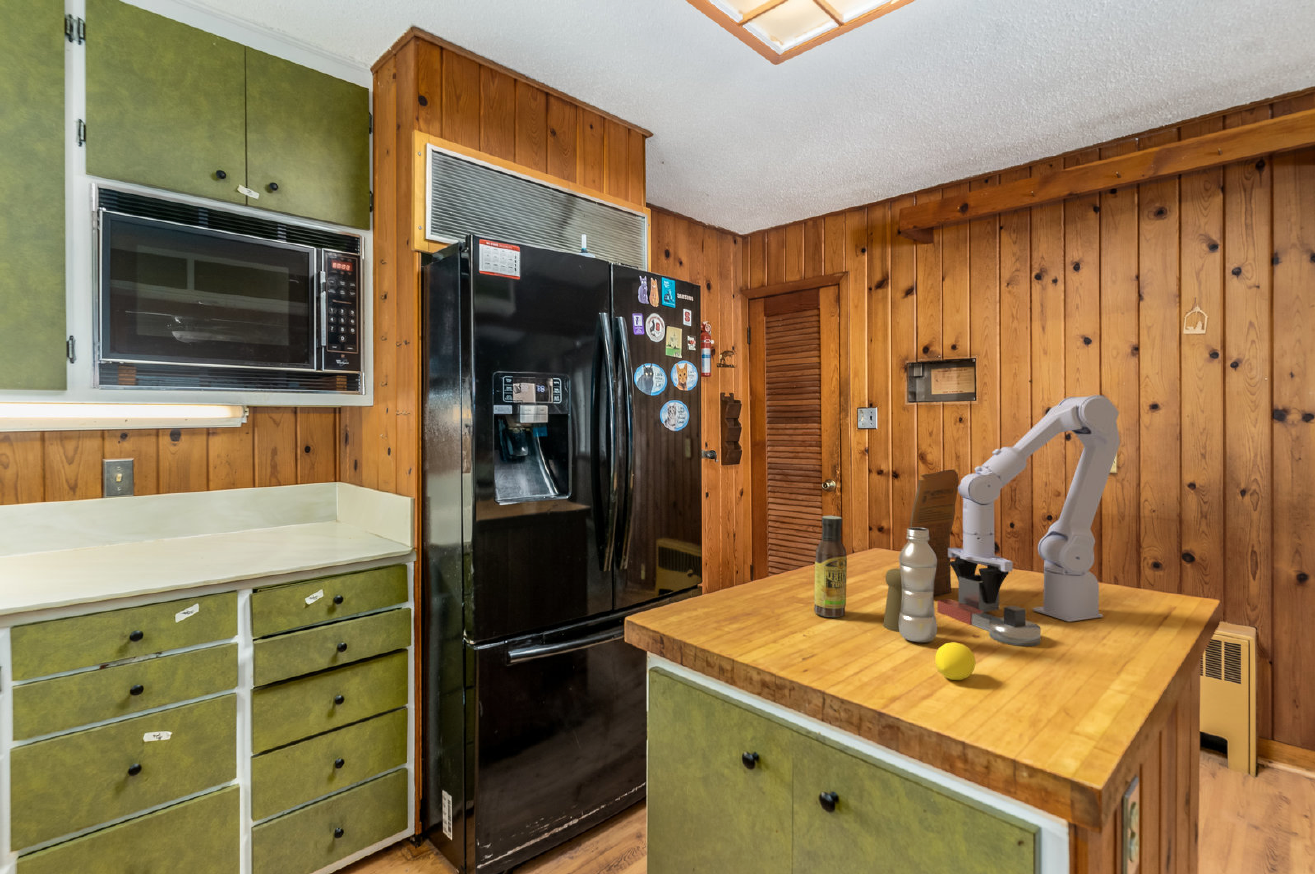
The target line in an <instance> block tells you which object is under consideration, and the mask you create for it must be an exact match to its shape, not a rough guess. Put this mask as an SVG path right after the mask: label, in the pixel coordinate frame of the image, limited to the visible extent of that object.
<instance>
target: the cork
mask: <svg viewBox="0 0 1315 874" xmlns="http://www.w3.org/2000/svg"><path fill="white" fill-rule="evenodd" d="M885 583H886V584H887V586H888V589H887V597H886V603H885V609H884V616H883V624H882V626H883V628H885V629H886V628H887V630H888V631H893V632H897V633H900V632H899V626H898V622H899V615H900V612H901V601H902V582H901V572H900V568H892V569H891V568H890V569H888V570H887V571H886V573H885Z"/></svg>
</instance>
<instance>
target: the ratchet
mask: <svg viewBox="0 0 1315 874" xmlns="http://www.w3.org/2000/svg"><path fill="white" fill-rule="evenodd" d="M1026 611H1027V609H1026V608H1022V607H1020V606H1017V605H1008V606H1003V617H998V616H995V615H993V614H989V613H987V612H983V611H982V610H979V609H976V608H974V607H971V606H968V605H965V604H962V603H959V601H957V600H953V599H951V598H946V599H938V600H937V613H939V614H941V615H944V614H946V615H945V616H947V615H948V616H947V617H949V616H950V618H952V619H955V620H957V619H958V620H957V621H960V622H962V623H965V624H967V623H968V624H967V625H971V626H974V627H977V628H979V629H981V628H982V630H985V631H986V630H987V632H988V633H989V634H988V635H989V637H990V638H991V639H992V638H993V639H992V640H994V641H996V640H997V642H999V643H1001V642H1003V643H1002V644H1005V643H1007V644H1006V645H1009V644H1011V646H1015V645H1016V646H1018V647H1036V646H1039V645H1040V644H1041V638H1042V636H1041V634H1042V632H1041V631H1042V630H1041V626H1040V625H1039V624H1037V623H1034V622H1032V621H1029V620H1026Z"/></svg>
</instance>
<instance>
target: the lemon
mask: <svg viewBox="0 0 1315 874" xmlns="http://www.w3.org/2000/svg"><path fill="white" fill-rule="evenodd" d="M934 656H935V660H934V661H935V663H934V664H935V666H936V669H937V671H938V672H939V673H940V674H942V675H943V677H944V678H945V679H948V680H951V681H962V680H964V679H966V678H967V679H968V677H970V675H971V674H972V673H973V672H974V671H975V666H976V663H977V661H976V657H975V655H974V653H973V651H972V650H971V648H969V647H968V646H966V645H964V644H963V643H958V642H955V641H951V642H946V643H944V644H942V645H941V646H939V647H938V649H937V650H936V653H935V655H934Z"/></svg>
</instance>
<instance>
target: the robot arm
mask: <svg viewBox="0 0 1315 874" xmlns="http://www.w3.org/2000/svg"><path fill="white" fill-rule="evenodd" d="M1119 415H1120V411H1119V410H1118V409H1117V408H1116V406H1115V404H1113V402H1112V401H1111V399H1109V398H1108V397H1106V396H1104V395H1101V394H1094V395H1090V396H1069V397H1065V398H1064V399H1062V400H1061V401H1060V402H1059V403H1058V404H1057V405H1054V406H1053V407H1051V408H1050V409H1049V411H1048V412H1047V413H1046V414H1045V415H1044V416H1043V417H1042V418H1041V419H1040V420H1039V421H1038V422H1037V423H1036V424H1035V425H1034V426H1032V428H1030V430H1028V432H1027V433H1026V434H1025V435H1024V436H1022V437H1021V438H1020V439H1019V440H1018V441H1017V442H1016V444H1014V445H1013V446H1003V447H1001V448H1000V449H999V448H995V449H994V450H993V451H992V452H991V454H992V456H991V457H990V458H989V459H987V460H986V461H985V462H984V463H983V464H982V465H981V466H979V465H978V466H976V467H975V468H974V471H975V473H974V472H973V473H972V472H971V473H969V474H967V475H965V476H964V477H963V478H962V479H961V481H960V484H959V485H958V493H959V495H960V496H961V498H962V548H959V547H955V546H953V547H950V548H948V557H950V559H951V558H953V559H954V558H955V559H954V560H950V567H951V568H952V570H953V571H954V573H955V575H956V578H957V580H958V582H959V576H967V575H976V571H977V568H978V565H981V566H985V567H982V568H978V572H979V574H980V575H981V578H982V582H983V588H984V600H985V603H987V604H991V603H996V599H997V595H998V592H999V593H1000V588H1001V586H1002V584H1003V582H1004V581H1005V579H1006V577H1007V576H1008V575H1009V572H1013V571H1014V570H1013V569H1014V568H1013V567H1014V565H1013V563H1014V562H1013V561H1012V560H1008V559H1006V558H1003V557H1001V556H999V555H996V554H995V501H996V500H998V498H999V497H1000V495H1001V489H1003V488H1004V487H1005V486H1006V485H1007V484H1008V483H1010V482H1011V481H1012V480H1013V479H1014V478H1015V477H1017V476H1018V475H1019V474H1020V473H1021V472H1023V471H1024V470H1025V469H1026V467H1027V461H1028V460H1027V459H1028V458H1029V457H1030V456H1032V455H1033V454H1035V452H1037V451H1038V450H1039V449H1041V448H1042V447H1043V446H1044V445H1046V444H1047V443H1049V442H1050V441H1051V440H1053V438H1055V437H1056V436H1057V435H1059V434H1061V433H1065V432H1070V431H1071V433H1073V434H1074V435H1076V437H1077V439H1078V440H1079V441H1080V443H1081V444H1082V445H1083V450H1082V452H1081V455H1080V458H1079V460H1078V463H1077V467H1076V469H1075V472H1074V476H1073V478H1072V480H1071V483H1070V486H1069V489H1068V492H1067V496H1066V498H1065V500H1064V503H1063V507H1062V509H1061V511H1060V512H1061V513H1060V516H1059V519H1057V520H1056V521H1055V522H1053V523H1052V524H1051V525H1050V526H1049V528H1048V530H1047V533H1046V534H1044V535H1043V537H1042V538H1040V540H1039V542H1038V544H1037V551H1038V552H1037V553H1038V555H1039V557H1040V558H1041V559H1042V560H1043V561H1044V562H1043V563H1044V564H1043V606H1038V607H1033V608H1032V611H1034V612H1037V613H1041V614H1043V615H1046V616H1049V617H1052V618H1056V619H1058V620H1062V621H1065V622H1075V621H1083V620H1088V619H1089V620H1090V619H1097V618H1098V619H1099V618H1103V617H1104V615H1103V614H1102V613H1099V608H1100V601H1099V599H1100V592H1099V591H1100V585H1099V581H1098V579H1097V577H1096V576H1095V574H1093V573H1092V572H1091V571H1090V570H1091V567H1093V565H1094V563H1095V553H1094V546H1095V543H1096V539H1095V537H1094V534H1093V532H1092V530H1091V527H1092V524H1093V521H1094V519H1095V516H1096V514H1097V513H1096V512H1097V510H1098V508H1099V505H1100V502H1101V499H1102V496H1103V493H1104V490H1105V488H1106V485H1107V482H1108V479H1109V476H1110V473H1111V470H1112V468H1113V465H1114V462H1115V459H1116V456H1117V453H1118V450H1119V447H1120V442H1121V441H1120V435H1119V429H1118V422H1117V419H1118V416H1119Z"/></svg>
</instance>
